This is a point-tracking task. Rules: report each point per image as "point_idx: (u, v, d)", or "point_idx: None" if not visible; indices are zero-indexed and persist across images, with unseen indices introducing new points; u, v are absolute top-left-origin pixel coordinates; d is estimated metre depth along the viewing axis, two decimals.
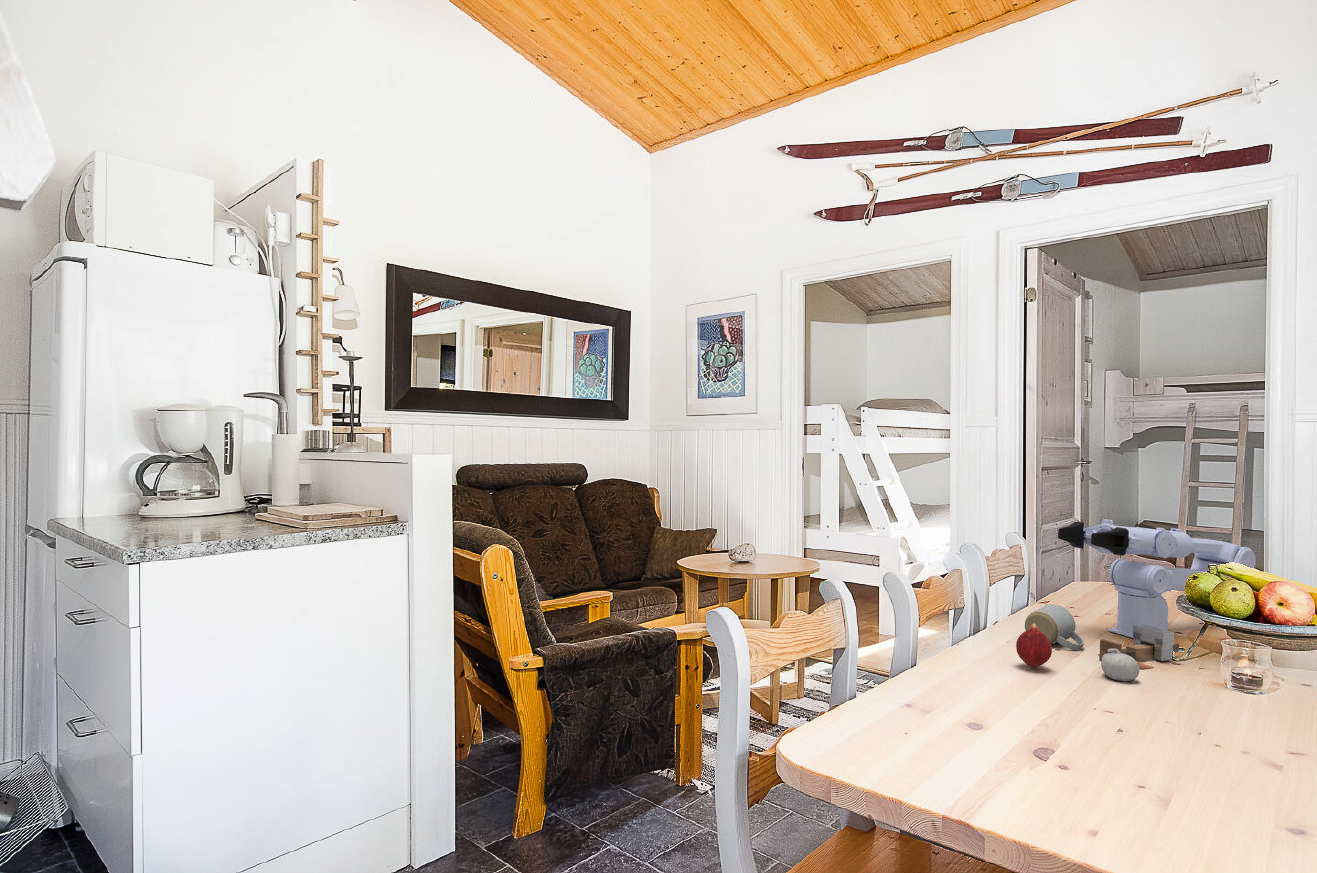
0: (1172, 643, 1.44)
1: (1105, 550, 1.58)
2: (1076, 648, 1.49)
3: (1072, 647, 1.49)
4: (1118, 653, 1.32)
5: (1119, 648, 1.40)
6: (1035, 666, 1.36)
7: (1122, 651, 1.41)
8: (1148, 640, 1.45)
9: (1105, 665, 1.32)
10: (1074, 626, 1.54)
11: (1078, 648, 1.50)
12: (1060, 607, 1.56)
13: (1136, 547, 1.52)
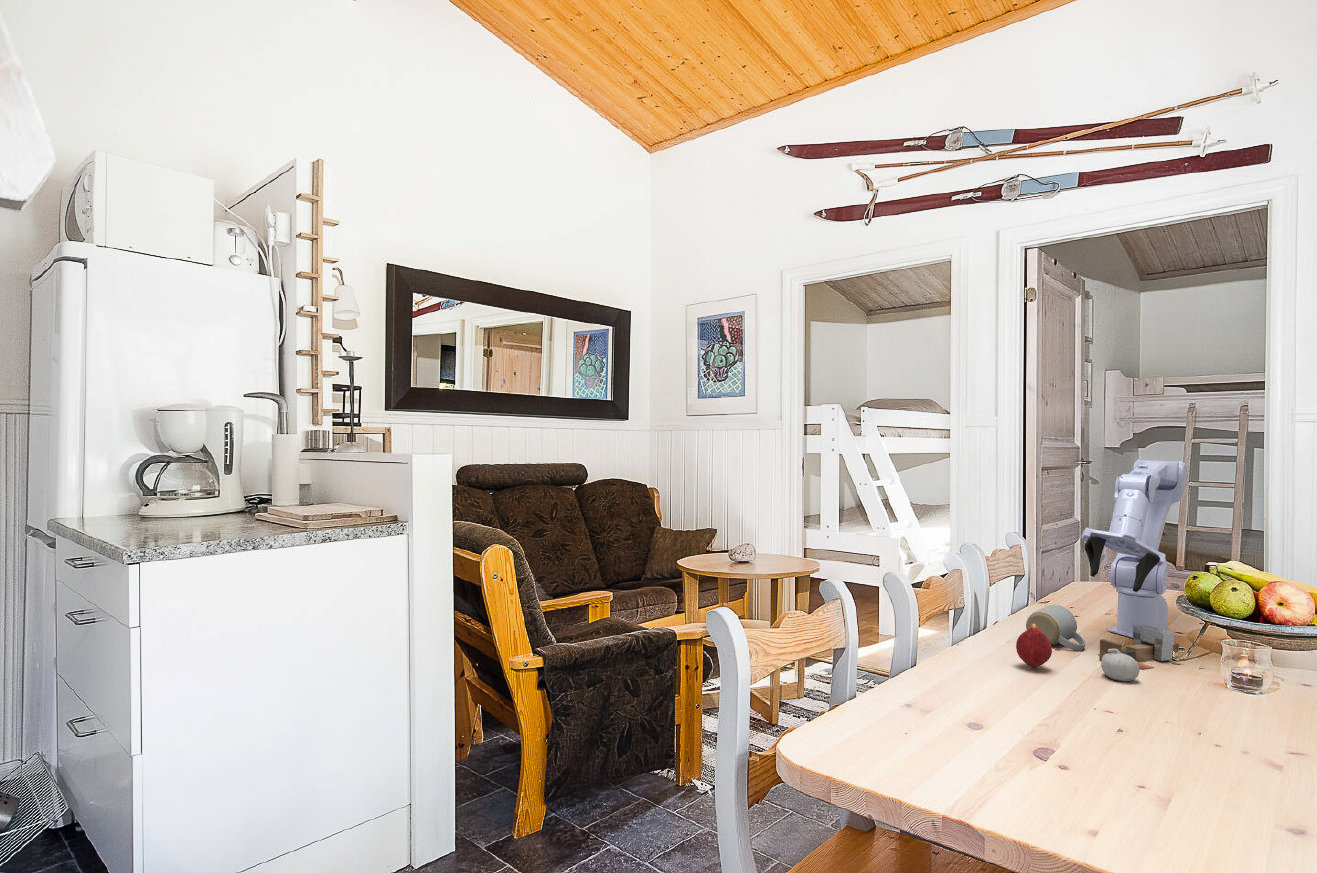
0: (1172, 643, 1.44)
1: (1120, 552, 1.53)
2: (1078, 648, 1.49)
3: (1074, 647, 1.49)
4: (1118, 653, 1.32)
5: (1119, 648, 1.40)
6: (1035, 666, 1.36)
7: (1122, 651, 1.41)
8: (1148, 640, 1.45)
9: (1105, 665, 1.32)
10: (1075, 626, 1.54)
11: (1080, 648, 1.49)
12: (1061, 607, 1.55)
13: None
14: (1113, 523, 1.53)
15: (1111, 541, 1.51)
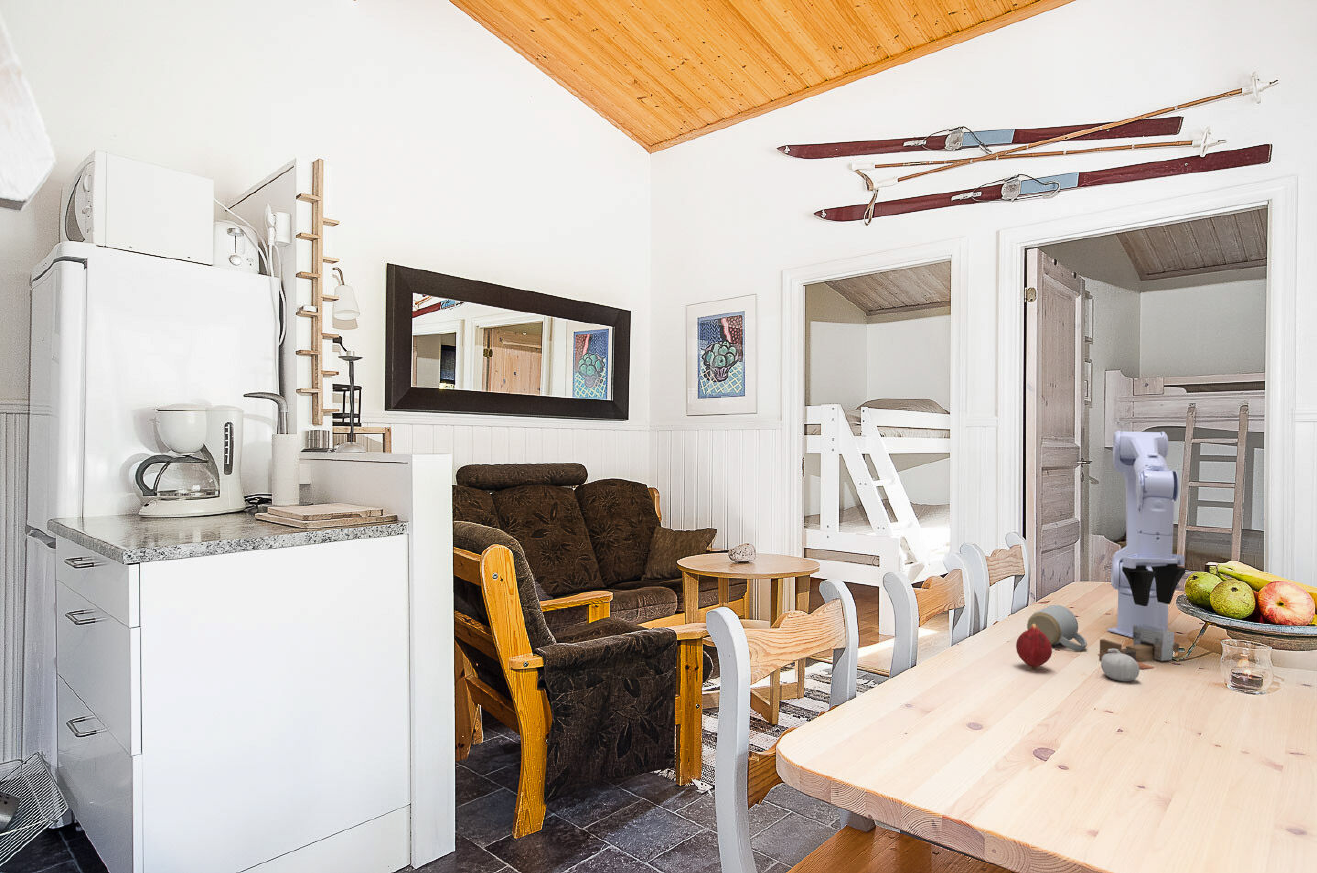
0: (1172, 643, 1.44)
1: None
2: (1079, 649, 1.49)
3: (1075, 648, 1.49)
4: (1118, 653, 1.32)
5: (1119, 648, 1.40)
6: (1035, 666, 1.36)
7: (1122, 651, 1.41)
8: (1148, 640, 1.45)
9: (1105, 665, 1.32)
10: (1077, 627, 1.54)
11: (1081, 649, 1.49)
12: (1063, 608, 1.55)
13: None
14: (1149, 541, 1.44)
15: (1149, 563, 1.44)
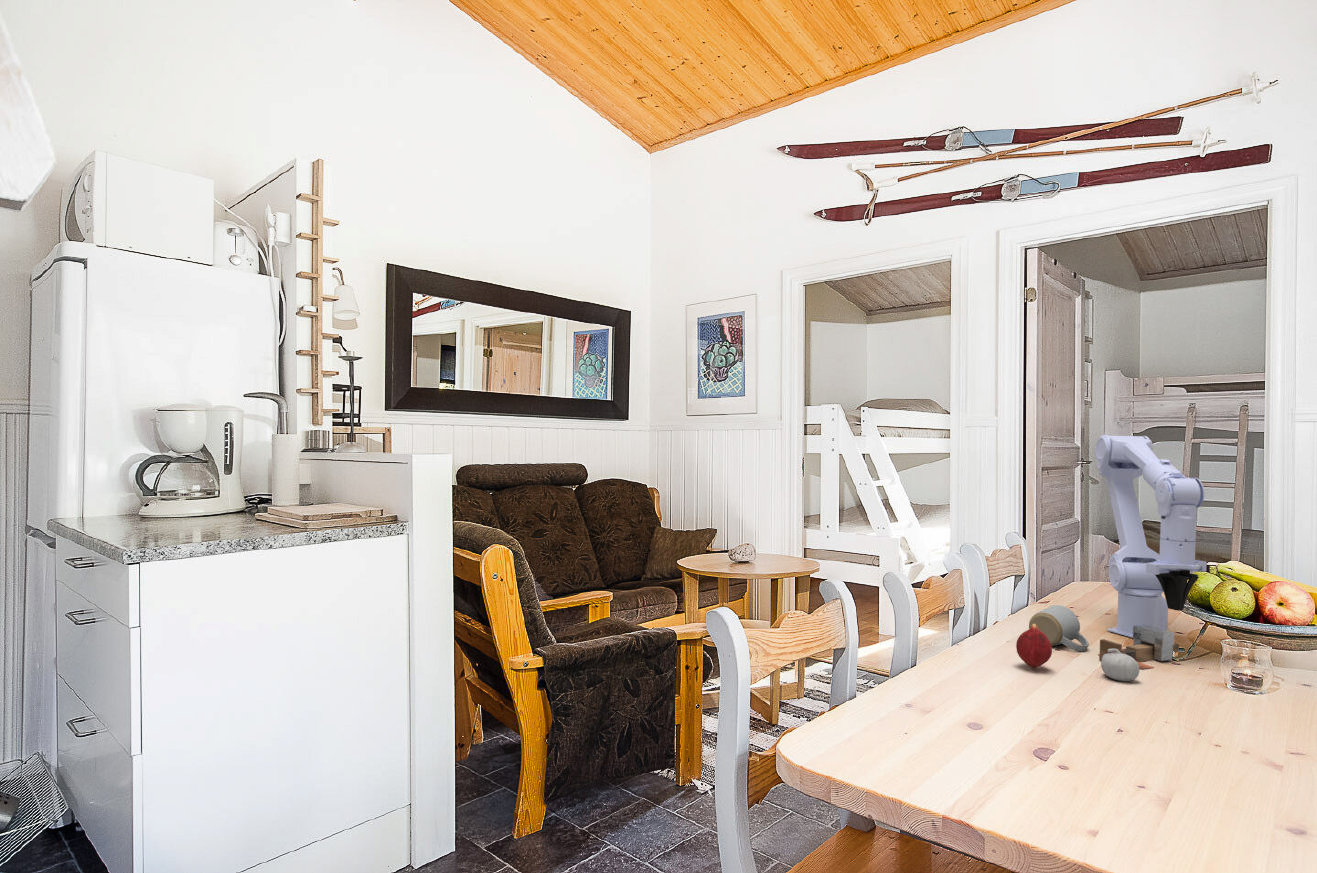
0: (1172, 643, 1.44)
1: None
2: (1081, 649, 1.49)
3: (1077, 648, 1.49)
4: (1118, 653, 1.32)
5: (1119, 648, 1.40)
6: (1035, 666, 1.36)
7: (1122, 651, 1.41)
8: (1148, 640, 1.45)
9: (1105, 665, 1.32)
10: (1079, 627, 1.53)
11: (1083, 649, 1.49)
12: (1064, 608, 1.55)
13: None
14: (1172, 548, 1.46)
15: (1172, 569, 1.46)
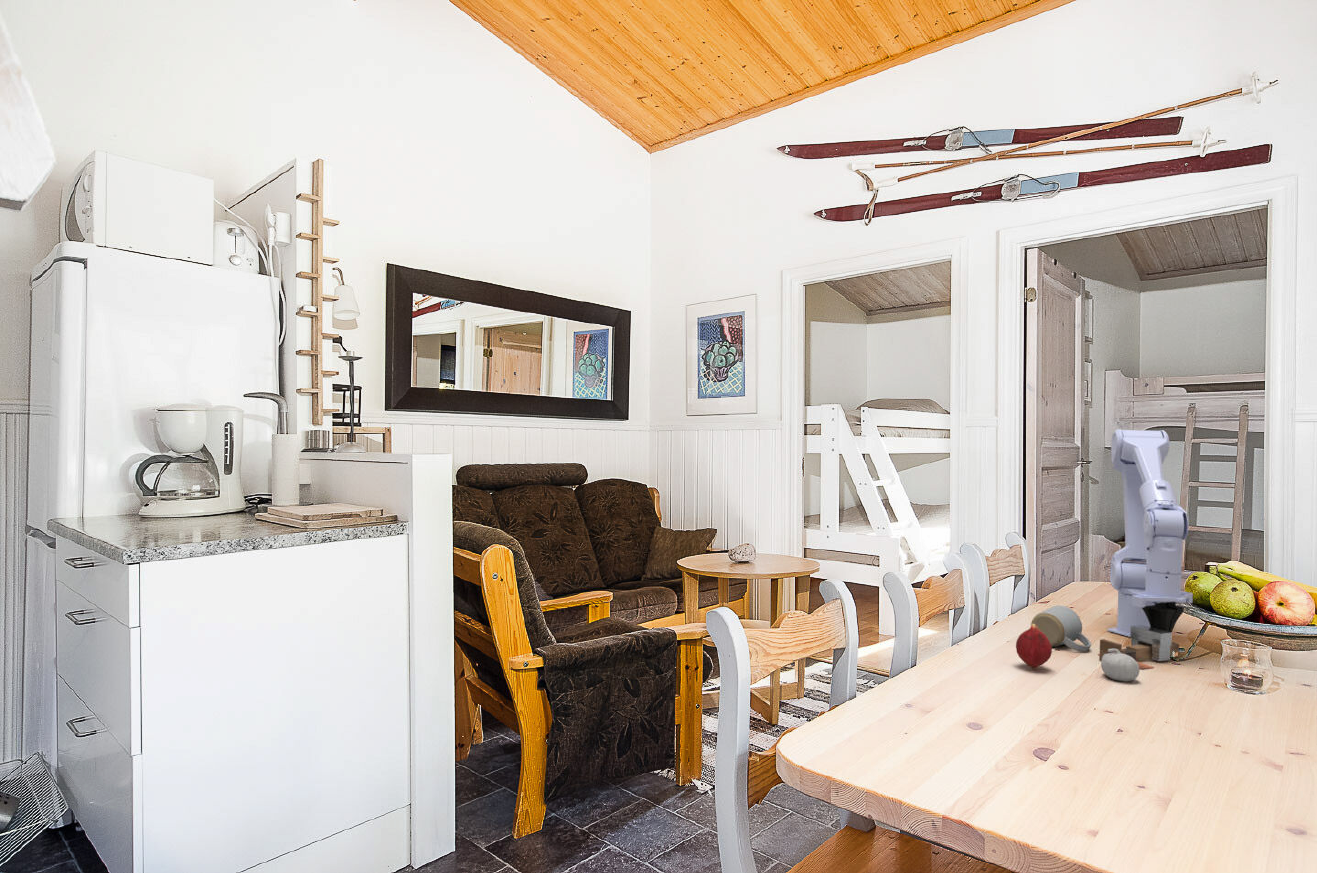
0: (1170, 643, 1.43)
1: None
2: (1083, 650, 1.48)
3: (1079, 649, 1.48)
4: (1118, 653, 1.32)
5: (1119, 648, 1.40)
6: (1035, 666, 1.36)
7: (1122, 651, 1.41)
8: (1146, 640, 1.45)
9: (1105, 665, 1.32)
10: (1081, 627, 1.53)
11: (1085, 650, 1.49)
12: (1067, 608, 1.54)
13: None
14: (1158, 580, 1.45)
15: None
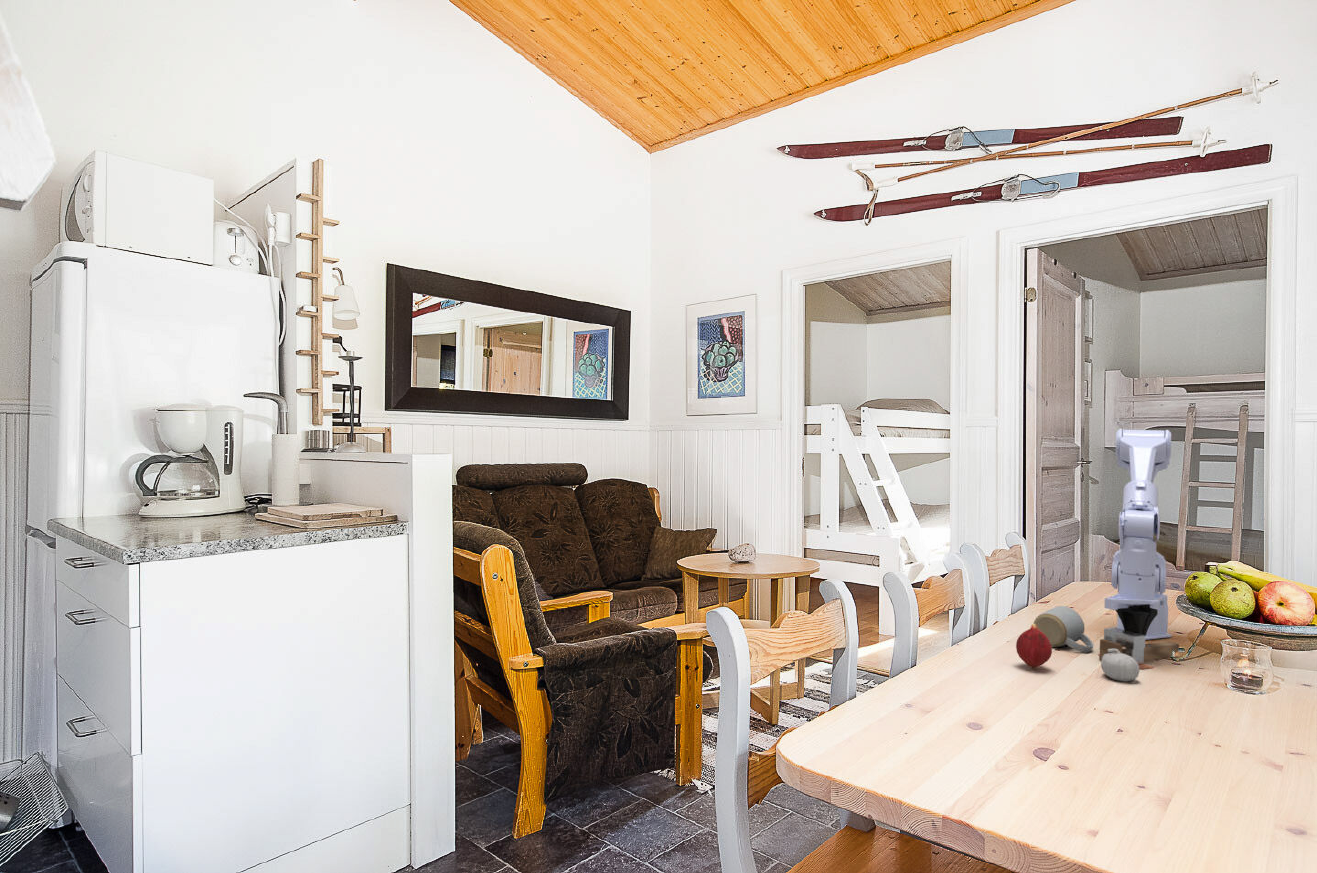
0: (1143, 646, 1.41)
1: None
2: (1085, 650, 1.48)
3: (1081, 649, 1.48)
4: (1118, 653, 1.32)
5: (1119, 648, 1.40)
6: (1035, 666, 1.36)
7: (1122, 651, 1.41)
8: (1119, 643, 1.42)
9: (1105, 665, 1.32)
10: (1083, 628, 1.53)
11: (1087, 650, 1.48)
12: (1069, 609, 1.54)
13: None
14: (1131, 582, 1.42)
15: None
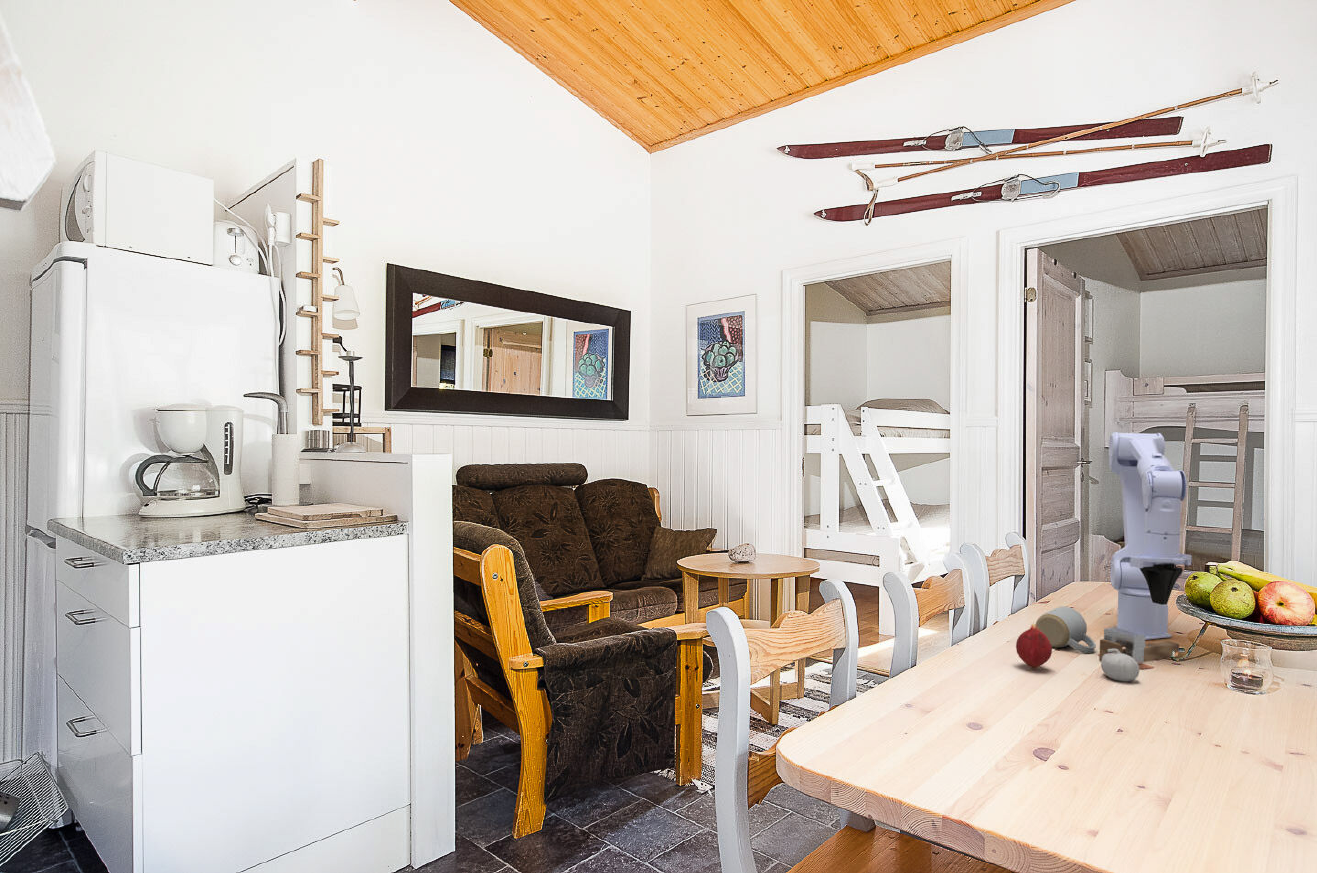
0: (1143, 646, 1.41)
1: None
2: (1088, 651, 1.48)
3: (1083, 650, 1.48)
4: (1118, 653, 1.32)
5: (1119, 648, 1.40)
6: (1035, 666, 1.36)
7: (1122, 651, 1.41)
8: (1119, 643, 1.42)
9: (1105, 665, 1.32)
10: (1085, 629, 1.52)
11: (1090, 651, 1.48)
12: (1071, 609, 1.54)
13: None
14: (1157, 541, 1.44)
15: None
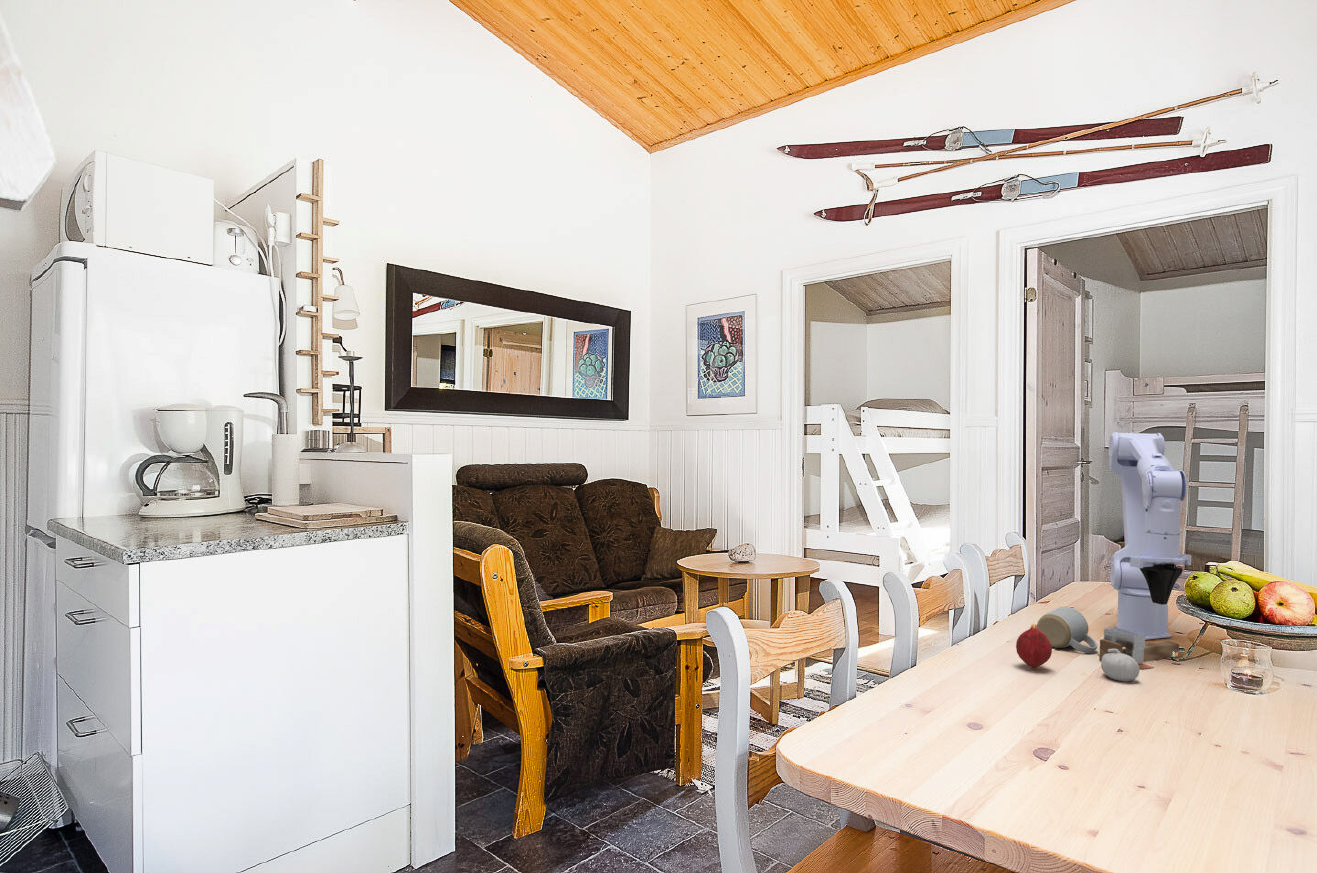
0: (1143, 646, 1.41)
1: None
2: (1089, 651, 1.47)
3: (1085, 650, 1.47)
4: (1118, 653, 1.32)
5: (1119, 648, 1.40)
6: (1035, 666, 1.36)
7: (1122, 651, 1.41)
8: (1119, 643, 1.42)
9: (1105, 665, 1.32)
10: (1087, 629, 1.52)
11: (1091, 651, 1.48)
12: (1073, 609, 1.54)
13: None
14: (1157, 541, 1.44)
15: None
